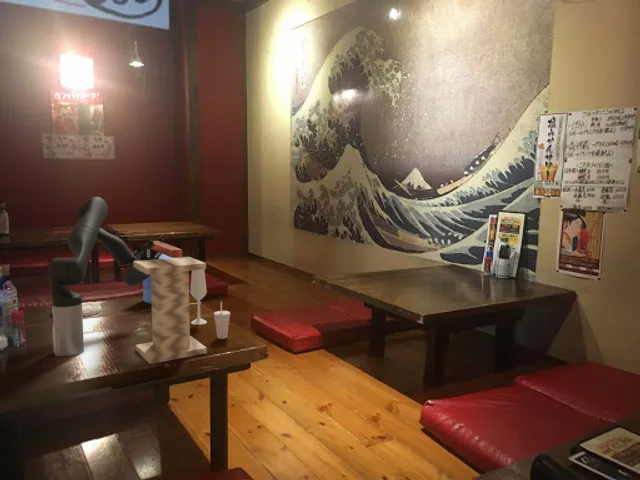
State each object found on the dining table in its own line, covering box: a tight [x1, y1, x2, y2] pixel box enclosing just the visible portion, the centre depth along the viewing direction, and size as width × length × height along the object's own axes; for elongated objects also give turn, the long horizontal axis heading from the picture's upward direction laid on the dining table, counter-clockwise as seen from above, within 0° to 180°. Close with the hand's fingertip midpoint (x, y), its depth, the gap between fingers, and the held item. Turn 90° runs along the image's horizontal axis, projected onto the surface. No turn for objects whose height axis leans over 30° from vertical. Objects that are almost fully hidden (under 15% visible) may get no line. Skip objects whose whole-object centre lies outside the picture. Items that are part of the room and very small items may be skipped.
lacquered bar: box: [147, 240, 183, 258], centre depth 186 cm, size 4×26×2 cm, turn 34°
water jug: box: [142, 254, 171, 305], centre depth 259 cm, size 16×16×28 cm
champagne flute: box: [189, 269, 208, 325], centre depth 222 cm, size 7×7×24 cm
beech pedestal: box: [133, 256, 208, 365], centre depth 185 cm, size 20×16×32 cm
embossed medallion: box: [52, 301, 102, 317], centre depth 237 cm, size 20×20×3 cm
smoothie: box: [213, 301, 231, 340], centre depth 203 cm, size 6×6×14 cm
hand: (157, 242), depth 192 cm, fingers closed on lacquered bar, 3 cm apart
